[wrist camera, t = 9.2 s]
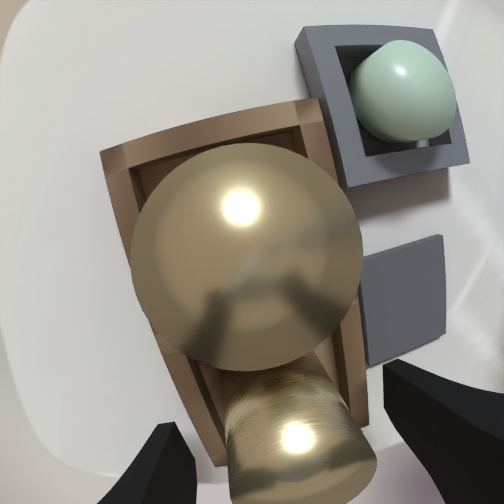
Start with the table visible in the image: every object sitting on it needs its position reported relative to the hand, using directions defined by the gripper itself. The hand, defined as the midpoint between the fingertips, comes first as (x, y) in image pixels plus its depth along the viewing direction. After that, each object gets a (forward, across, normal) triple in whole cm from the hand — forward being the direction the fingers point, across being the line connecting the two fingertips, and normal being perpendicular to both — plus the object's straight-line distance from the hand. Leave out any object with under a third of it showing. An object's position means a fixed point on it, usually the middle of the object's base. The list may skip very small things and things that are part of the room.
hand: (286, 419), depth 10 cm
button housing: (+4, -7, -10) cm, 12 cm away
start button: (+3, -7, -10) cm, 12 cm away
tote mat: (+4, -6, -1) cm, 8 cm away
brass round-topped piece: (+3, 0, -6) cm, 7 cm away
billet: (+3, 0, 0) cm, 3 cm away
